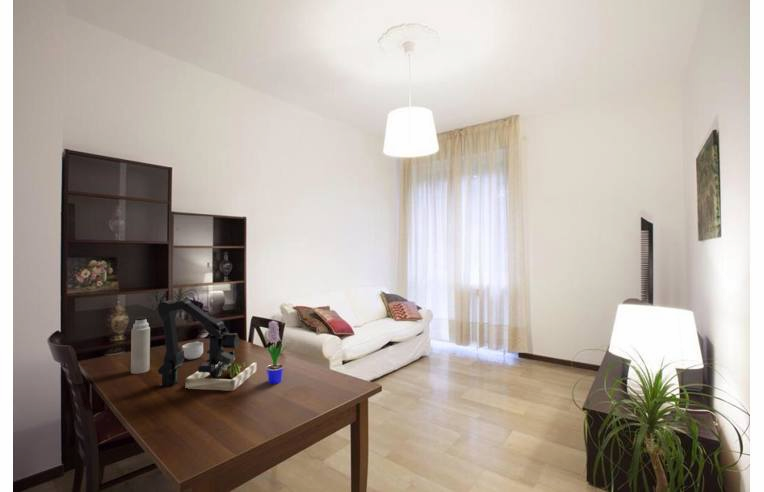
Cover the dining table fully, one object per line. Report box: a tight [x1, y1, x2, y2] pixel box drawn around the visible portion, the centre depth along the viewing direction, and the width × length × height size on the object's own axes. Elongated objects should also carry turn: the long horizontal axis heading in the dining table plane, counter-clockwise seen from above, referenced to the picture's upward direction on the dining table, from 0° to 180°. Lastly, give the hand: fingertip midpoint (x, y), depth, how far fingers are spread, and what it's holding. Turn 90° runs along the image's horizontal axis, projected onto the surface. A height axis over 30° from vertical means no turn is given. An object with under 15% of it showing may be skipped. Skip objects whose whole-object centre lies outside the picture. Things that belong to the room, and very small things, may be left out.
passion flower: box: [217, 357, 246, 379], centre depth 174 cm, size 13×12×14 cm
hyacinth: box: [265, 320, 287, 385], centre depth 167 cm, size 9×10×30 cm
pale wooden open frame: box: [184, 361, 258, 392], centre depth 169 cm, size 24×23×4 cm
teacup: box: [181, 340, 204, 360], centre depth 201 cm, size 14×11×8 cm
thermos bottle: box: [130, 316, 151, 375], centre depth 177 cm, size 8×8×28 cm
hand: (215, 380), depth 162 cm, fingers closed
